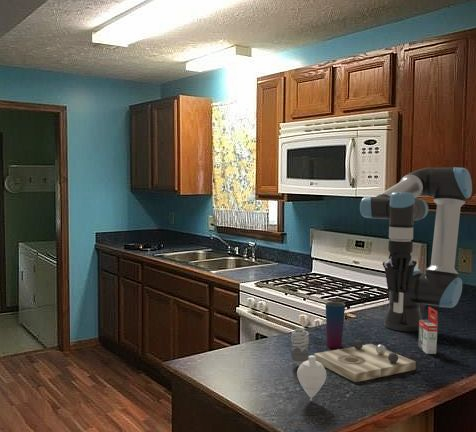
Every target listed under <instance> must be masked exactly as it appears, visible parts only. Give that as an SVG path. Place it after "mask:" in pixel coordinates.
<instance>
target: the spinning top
mask: <svg viewBox="0 0 476 432" xmlns="http://www.w3.org/2000/svg"><path fill="white" fill-rule="evenodd" d="M315 360H316V357H315V356H314V354H313V355H308V359H307V360H306V361H304V362H303V363H302V364H301V365H300V366H298V368H297V371H296V375H297V379H298V381H299V384H300V386H301V387H302V388H303V390H304V392H305V393H306V394H307V396H308V397H309V398H310V399H309V400H310V402H312V401H313V398H314V397H315V396H316V394H317V393H318V392H319V391H320V390H321V389H322V387H323V386H324V384H325V382H326V380H327V371H326V369H325V368H326V367H324V366H323V365H322V364H321V363H320V362H317V361H315Z"/></svg>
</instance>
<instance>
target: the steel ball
mask: <svg viewBox="0 0 476 432" xmlns="http://www.w3.org/2000/svg"><path fill="white" fill-rule="evenodd" d="M376 346H377V347H376V352H377V353H378V354H380V355H383V354H385V352H386V350H387V348H386V346H385V345H383V344H377V345H376Z"/></svg>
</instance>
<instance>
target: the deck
mask: <svg viewBox="0 0 476 432" xmlns="http://www.w3.org/2000/svg"><path fill="white" fill-rule="evenodd" d="M377 346H378V345H375V344H373V343H367V344H363V347H362V348H361V349H356V348H355V347H354V346H351V347H344V348H337V349H333V350H326V351H321V352H316V353H314V354H313V356H315V357H316V360H315V361H317V362H320V363H321V364H322V365H323V367H324V368H327V369H328V370H330V371H332V372H334V373H336V374H338V375H339V376H342V377H344V378H346V379H348V380H350V381H351V382H354V383H357V382H358V383H359V382H362V381H368V380H373V379H376V378H382V377H387V376H392V375H396V374H402V373H406V372H411V371H415V370H416V367H417V366H416V365H417V363H416V361H415V360H413V359H410V358H407V357H405V356H402V355H400V354H398V353H396V354H397V355H398V361H397V362H395V363H392V362H390V361H389V359H388V355H389V354H390V353H394V352H393V351H390V350H388V349H386V352H385V354H383V355H380V354H378V353H377V352H376V347H377Z"/></svg>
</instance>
